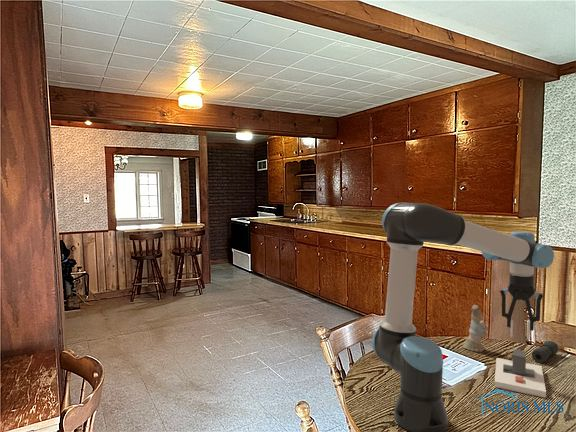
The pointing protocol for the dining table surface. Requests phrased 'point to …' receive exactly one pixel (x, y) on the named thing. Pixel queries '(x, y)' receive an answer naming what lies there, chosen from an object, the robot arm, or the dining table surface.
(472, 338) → the figurine
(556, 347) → the flashlight
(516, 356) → the plug
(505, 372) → the socket plate
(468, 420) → the dining table surface
